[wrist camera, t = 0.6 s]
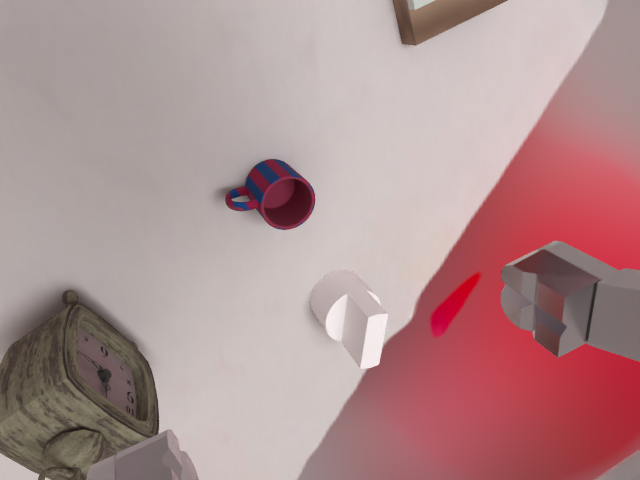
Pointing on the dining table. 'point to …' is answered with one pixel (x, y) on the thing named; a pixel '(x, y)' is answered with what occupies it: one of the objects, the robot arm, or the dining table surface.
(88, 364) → the tabletop clock
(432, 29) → the housing
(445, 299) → the dining table surface
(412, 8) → the cover
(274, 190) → the mug
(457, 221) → the dining table surface
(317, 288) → the cylinder with rectangular tab
